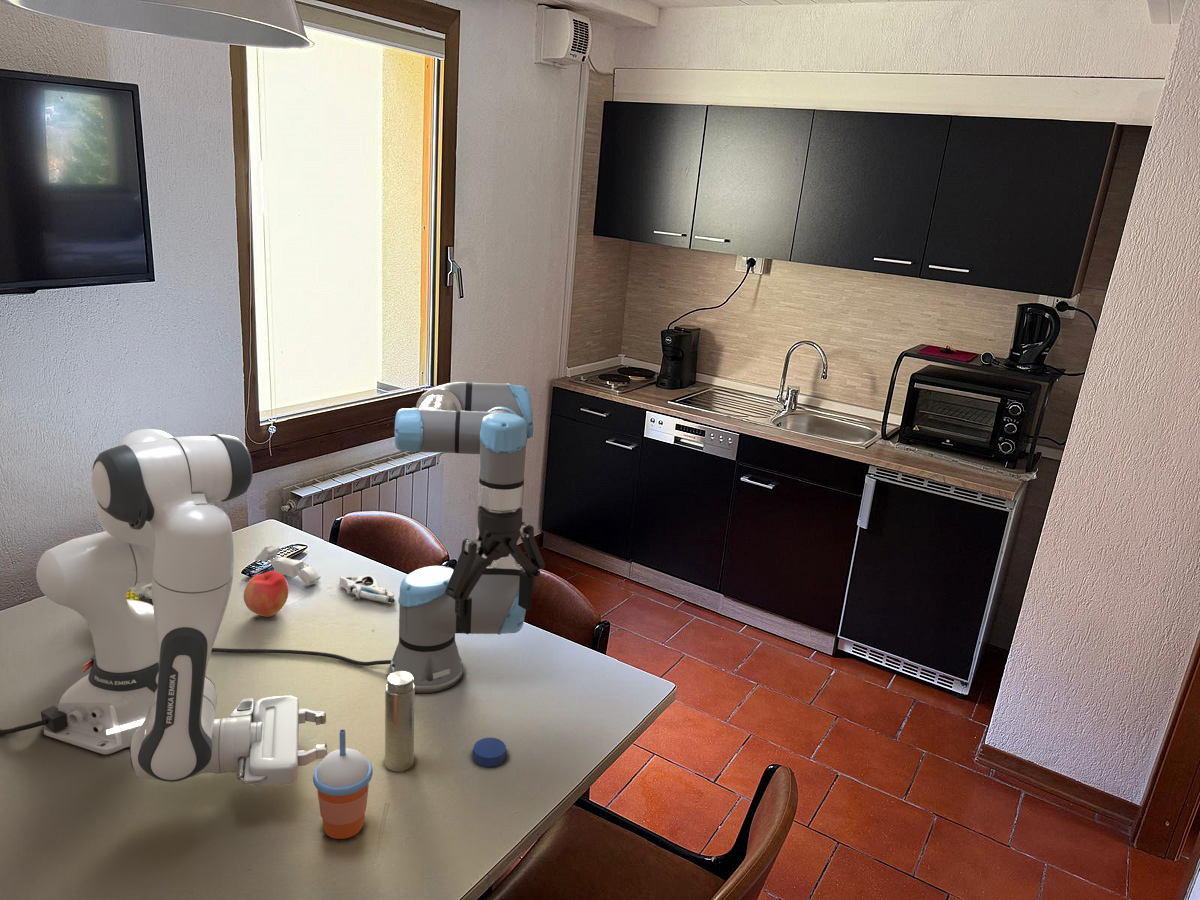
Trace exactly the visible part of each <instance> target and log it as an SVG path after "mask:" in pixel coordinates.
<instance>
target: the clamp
mask: <svg viewBox="0 0 1200 900" xmlns="http://www.w3.org/2000/svg"><path fill="white" fill-rule="evenodd" d="M280 549H281V547H279V546H278V545H277V544H272V545H266V546H264V547H263V549H262V550H261V551H260V552H259V554H258V555H257V556H256V557H255V559H254V562H255V563H256V561H259V560H262V561H268V560H271V562H270V563H269V564H271V565H272V566H273V568H274V571H275V572H278V573H281V574H282V575H283V576H288V577H292V578H296V577H298V578H299V579H300V580H301V582H303V584H304V585H305V587H309V586H312V585H314V584H316V583H318V582H319V580H320V579H321V578H322V577H321V575H320V574H319V573H318V572H317V570H315V569H314V568H313V566H312V565H310V564H309V565H308V564H307V563H305V562H304V561H303V560H301V559H300V560H299V559H292V558H289V557H285V556H278V553H279V551H280ZM273 558H274V559H273ZM272 559H273V560H272ZM305 566H306V567H305ZM270 571H271V570H270Z"/></svg>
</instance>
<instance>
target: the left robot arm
mask: <svg viewBox="0 0 1200 900" xmlns="http://www.w3.org/2000/svg"><path fill="white" fill-rule="evenodd" d="M91 470H92V471H91V489H92V493H93V495H94V497H95V499H96V501H97V507H96V517H97V520H98V522H99V525H100V526H101V528H102V530H103V531H101V532H96V533H93V534H88V535H83V536H80V537H76V538H72V539H70V540H67V541H65V542H63V543H60V544H58V545H56V546H54V547H52V548H49V549H46V550H45V551H44V552H43V553H42V555H41V556H40V558H39V560H38V562H37V564H36V565H37V566H36V571H35V576H36V577H35V578H36V581H37V585H38V588H39V590H40V591H41V592H42V593H43V595H44V596H45V597H46V598H47V599H49V600H50V601H51V602H53V603H54V604H57V605H60V606H63V607H66V608H70V609H71V610H74V612H77V613H78V614H79V615H80V616H81V617H82V618H83V619H84V620H85V621H86V623H87V625H88V627H89V630H90V633H91V638H92V642H93V646H94V655H92V656H91V658H90V660H89V661H87V662H86V663H84V665H82V667H81V668H82V673H85V672H86V671H88V670H89V669H90V670H89V673H87V674H86V675H85V676H83V677H81V678H80V679H79V680H78V681H76V682H74V683H73V684H72V685H71V686H69V687H68V689H67V690H65V692H64V693H63V694H62V695H61V697H60V699H59V701H58V705H57V706H56V705H51V706H49V707H47V708H44V709H42V710H40V718H41V720H38V721H34V722H30V723H27V724H23V725H19V726H15V727H12V728H5V729H0V736H3V735H10V734H11V735H12V734H15V733H19V732H23V731H27V730H30V729H34V728H38V727H41V726H44V727H43V735H44V736H46V737H50V738H53V739H55V740H59V741H62V742H64V743H67V744H70V745H73V746H76V747H79V748H82V749H85V750H89V751H92V752H95V753H97V754H101V755H110V754H114V753H116V752H118V751H121V750H123V749H126V748H129V756H130V764H131V768H132V770H133V771H134V773H135V774H136V776H137V777H139V778H141V779H146V780H153V781H162V782H166V783H167V782H168V783H174V782H175V783H176V782H180V781H184V780H188V779H189V778H193V777H196V776H199V775H201V774H207V773H212V774H228V773H236V772H237V773H236V778H237V780H239V781H240V782H241V783H243V784H244V785H254V786H259V787H260V786H263V787H264V786H265V787H268V786H270V787H271V786H285V785H292V784H294V783H295V782H297V780H298V778H299V767H305V766H307V765H309V764H311V763H313V762H315V761H316V760H320V759H322V760H323V759H324V757H325V756H327V755H328V744H327V743H322V744H316V745H315V747H314V748H312V749H309V750H307V751H306V750H305V749H301V750H299V731H300V730H299V726H300V725H299V724H306V722H309V723H310V722H311V723H315V726H321V725H325V724H326V723H327V712H326V711H325V710H319V711H315V710H313V709H308V708H300V702H299V701H300V700H299V698H298V697H297V696H294V695H277V696H275V695H274V696H267V697H262V698H259V699H257V700H256V701H255V699H254V698H251V697H249V698H247V697H246V698H243V699H240V701H239V703H238V704H237V705H236V707H235V708H234V710H232V712H231V713H230V715H228V717H221V718H216V711H217V710H216V709H217V702H218V701H217V700H218V696H217V695H218V694H217V689H216V686H215V684H214V682H213V681H212V680H211V679H210V678H209V677H207V676H206V674H207V668H208V664H209V660H210V657H211V654H212V652H211V651H212V648H214V646H215V641H216V639H217V637H218V633H219V630H220V627H221V624H222V622H223V619H224V615H225V613H226V610H227V607H228V602H229V599H230V595H231V591H232V586H233V580H234V568H235V566H234V565H235V545H234V534H233V528H232V523H231V519H230V517H229V516H228V515H227V513H226V512H225V511H224V510H223V509H222V508H221V507H218V506H216V505H214V503H217V502H222V503H223V502H225V503H226V502H228V501H231V500H233V499H234V500H235V499H236V498H238V497H241V496H242V495H245V493H246V492H247V491H248V489H249V487H250V485H251V484H252V480H253V474H254V472H253V471H254V470H253V461H252V456H251V454H250V451H249V449H248V447H247V446H246V445H245V443H244V442H242V440H240V438H238V437H237V436H233V435H229V434H222V433H221V434H220V433H213V434H210V435H189V436H188V435H187V436H184V435H183V436H173V435H171V434H170V433H168V432H166V431H164V430H160V429H157V428H141V429H137V430H134V431H132V432H129V433H128V434H127V435H125V436H124V437H123V438H122V440H121V441H119V443H118V445H117V446H114V447H111V448H108V449H106V450H103V451H101V452H99V454H98V455H97V457H96V458H95V460H94V461H93V465H92V469H91ZM150 583H152V595H153V599H152V604H151V603H149V604H148V603H146V602H142V601H137V600H129V599H127V598H126V595H127V592H128V591H129V590H131V591H132V590H133V589H136V588H138V587H140V586H143V585H147V584H150Z"/></svg>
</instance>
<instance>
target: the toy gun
mask: <svg viewBox="0 0 1200 900" xmlns="http://www.w3.org/2000/svg"><path fill="white" fill-rule="evenodd" d="M338 583H339V586H340V587H341V588H343V589H345V590H346V593H347V594H348V595H354V596H355V598H356V599H361V598H362V599H365V600H369V601H375V602H380V603H384V604H394V603H395V593H394V592H392V591H389V590H387V589H386V588H385V587H382V586H379V584H378V581H377V580H376V578H375V577H374V576H372V575H369V574H368V575H362V576H361V575H360V576H350V577H345V576H340V577H339V581H338ZM367 583H370V584H369V585H366V584H367Z"/></svg>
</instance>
